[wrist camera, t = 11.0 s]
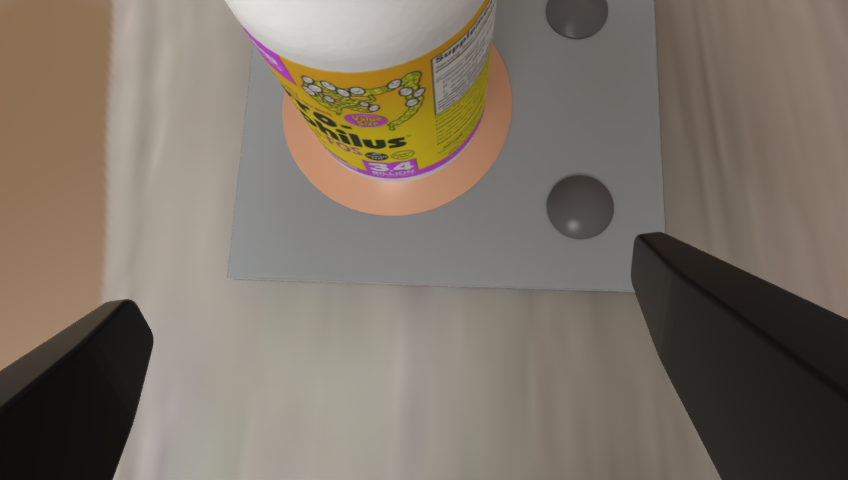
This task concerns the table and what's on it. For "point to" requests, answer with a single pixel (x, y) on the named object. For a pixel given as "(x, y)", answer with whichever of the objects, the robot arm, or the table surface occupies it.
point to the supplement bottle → (380, 76)
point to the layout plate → (477, 170)
